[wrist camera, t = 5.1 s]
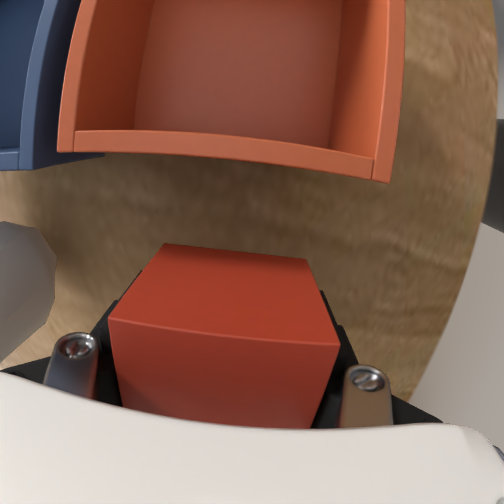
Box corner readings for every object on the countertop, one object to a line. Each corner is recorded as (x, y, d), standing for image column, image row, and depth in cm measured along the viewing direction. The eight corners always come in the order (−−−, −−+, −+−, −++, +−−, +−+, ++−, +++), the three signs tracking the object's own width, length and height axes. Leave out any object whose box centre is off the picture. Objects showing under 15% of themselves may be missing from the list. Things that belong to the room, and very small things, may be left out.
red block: (306, 258, 11) (341, 344, 6) (283, 368, 13) (294, 466, 8) (163, 242, 11) (106, 317, 6) (165, 355, 12) (133, 448, 8)
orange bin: (352, -14, 10) (400, -71, 5) (335, 166, 13) (390, 184, 8) (155, -33, 9) (119, -96, 4) (123, 145, 12) (55, 152, 7)
